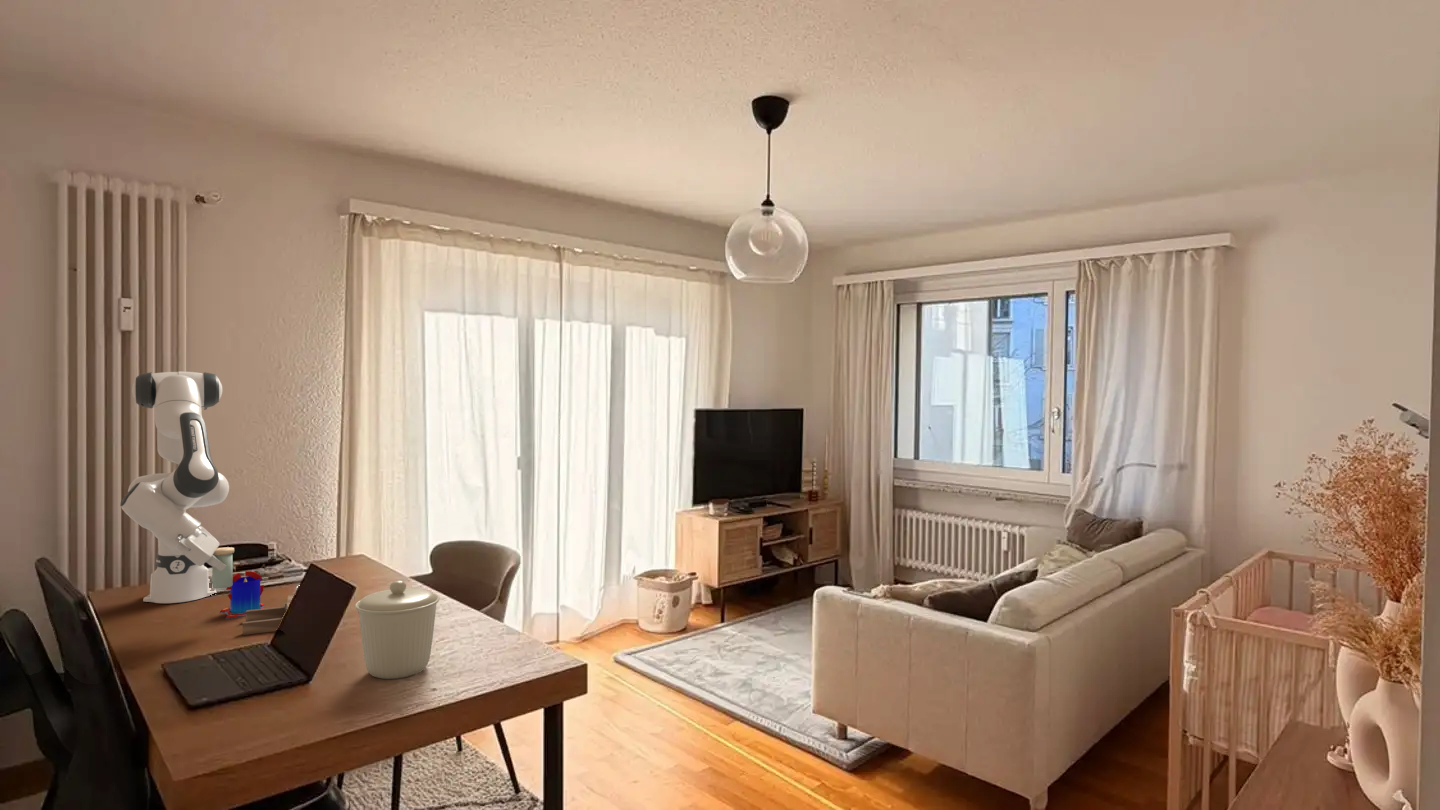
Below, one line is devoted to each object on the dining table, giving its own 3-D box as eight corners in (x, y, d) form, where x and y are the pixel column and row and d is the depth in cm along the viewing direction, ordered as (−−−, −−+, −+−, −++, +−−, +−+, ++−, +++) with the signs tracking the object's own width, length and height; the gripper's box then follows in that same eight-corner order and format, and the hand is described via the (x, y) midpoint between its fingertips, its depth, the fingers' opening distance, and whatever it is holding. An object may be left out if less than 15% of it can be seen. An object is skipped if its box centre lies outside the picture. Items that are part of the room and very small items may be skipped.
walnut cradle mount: (246, 620, 219) (246, 598, 219) (294, 614, 225) (294, 594, 224) (242, 636, 205) (242, 613, 205) (293, 629, 210) (293, 607, 210)
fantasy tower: (225, 620, 219) (225, 577, 219) (218, 611, 228) (218, 570, 228) (272, 612, 227) (272, 571, 227) (264, 604, 236) (263, 564, 236)
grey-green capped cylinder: (211, 585, 210) (211, 548, 210) (235, 582, 213) (235, 546, 213) (209, 589, 206) (209, 551, 205) (233, 587, 208) (233, 550, 208)
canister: (387, 692, 167) (387, 595, 167) (338, 675, 177) (338, 583, 177) (456, 667, 183) (456, 578, 182) (407, 653, 192) (407, 568, 192)
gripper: (185, 529, 197) (230, 564, 201) (197, 517, 215) (238, 550, 219) (163, 548, 195) (210, 583, 199) (177, 535, 213) (220, 567, 217)
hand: (225, 566), depth 209 cm, fingers closed on grey-green capped cylinder, 5 cm apart
